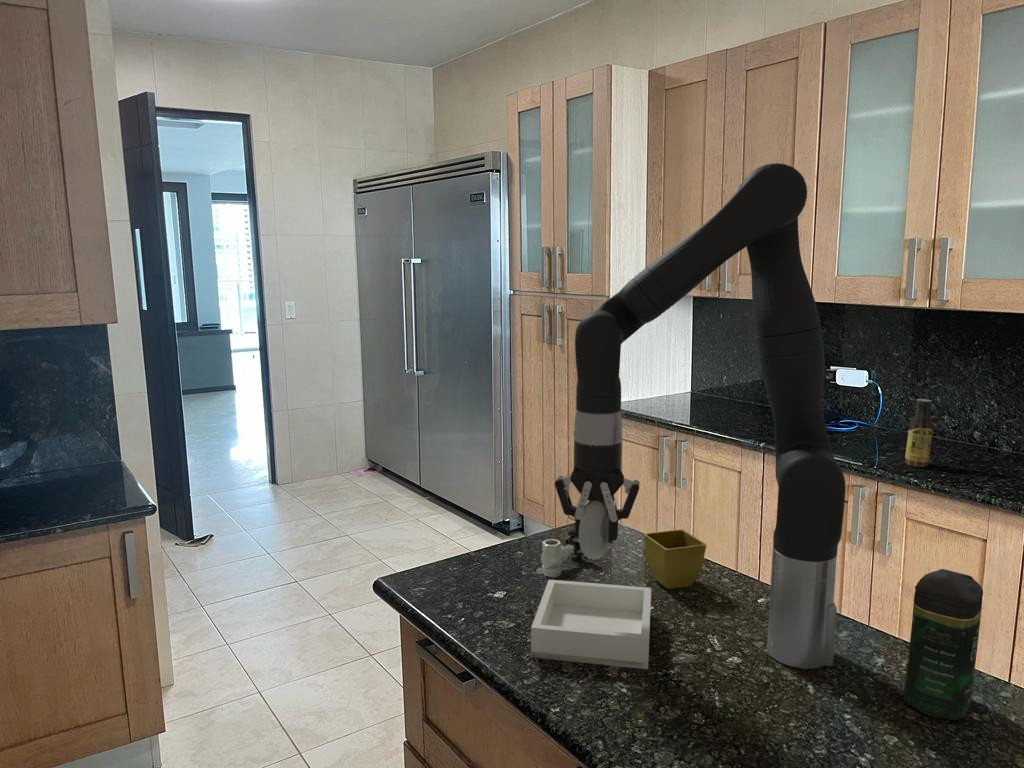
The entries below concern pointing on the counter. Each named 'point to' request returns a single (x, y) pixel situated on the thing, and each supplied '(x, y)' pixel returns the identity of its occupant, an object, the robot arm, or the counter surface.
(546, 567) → the valve
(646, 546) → the flower pot
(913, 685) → the coffee jar
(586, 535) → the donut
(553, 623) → the tray
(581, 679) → the counter surface
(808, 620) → the robot arm
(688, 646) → the counter surface
